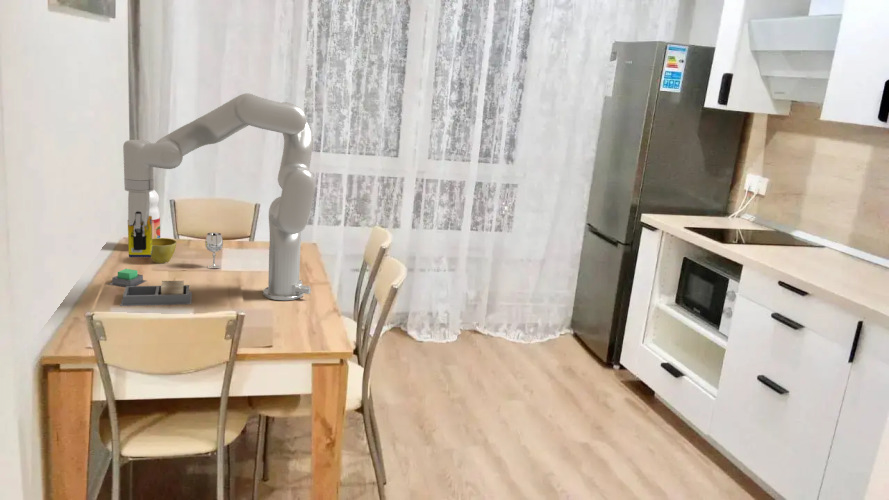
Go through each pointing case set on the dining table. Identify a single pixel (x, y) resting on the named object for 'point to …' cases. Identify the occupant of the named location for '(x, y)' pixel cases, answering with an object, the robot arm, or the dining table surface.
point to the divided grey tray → (153, 296)
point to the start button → (127, 274)
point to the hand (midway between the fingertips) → (140, 245)
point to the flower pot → (162, 249)
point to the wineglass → (214, 245)
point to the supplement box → (148, 240)
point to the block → (172, 287)
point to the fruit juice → (154, 213)
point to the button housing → (127, 281)
